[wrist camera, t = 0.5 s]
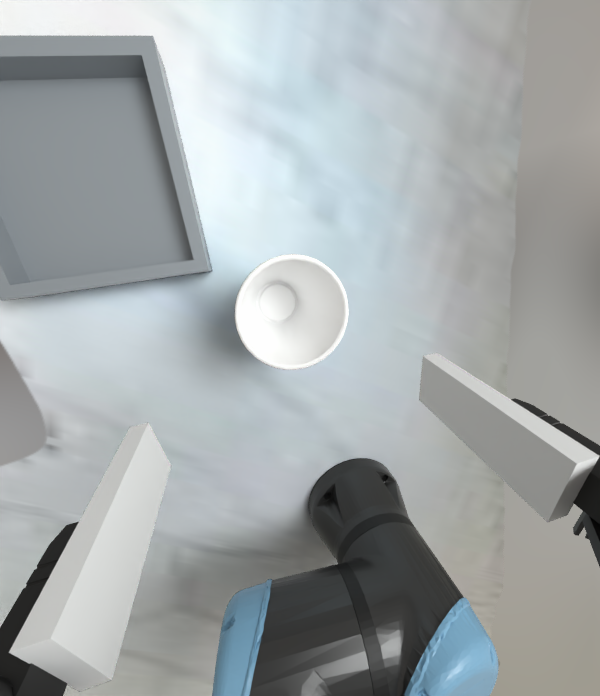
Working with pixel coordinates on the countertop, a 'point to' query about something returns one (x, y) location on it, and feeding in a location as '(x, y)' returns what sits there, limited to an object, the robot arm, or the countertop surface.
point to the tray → (91, 168)
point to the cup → (291, 312)
